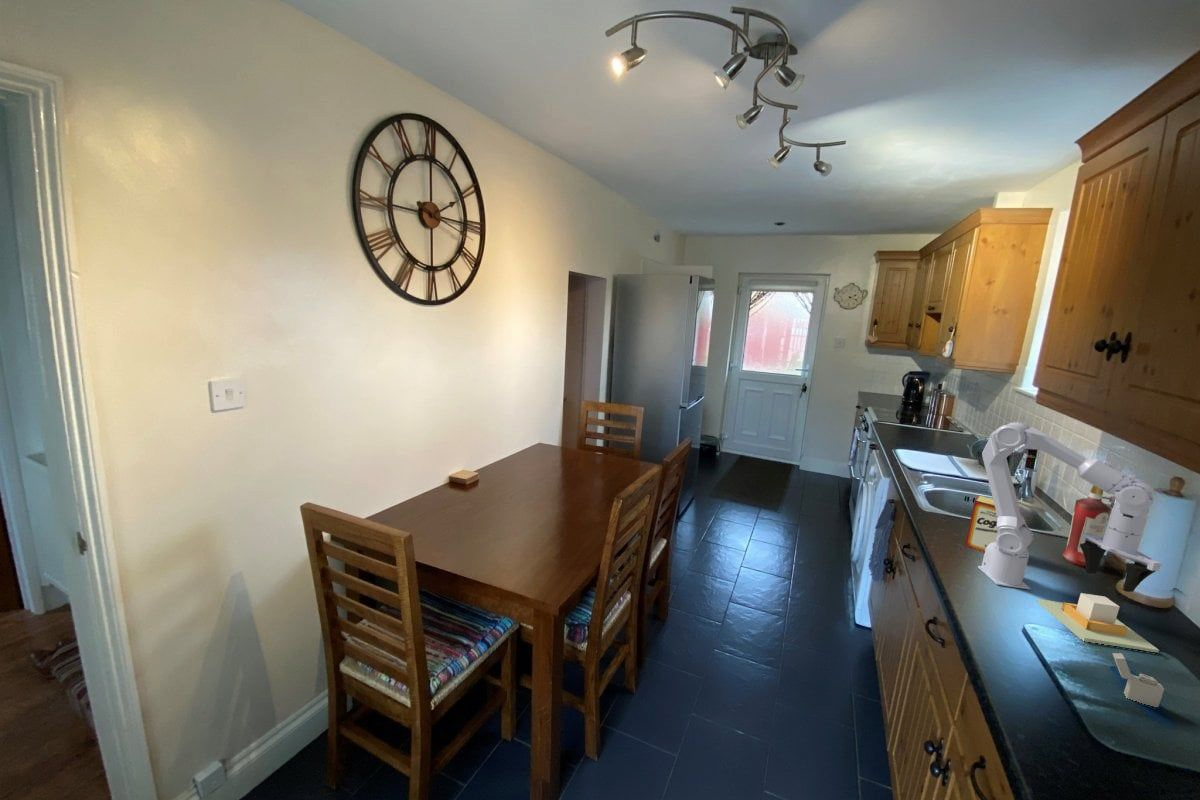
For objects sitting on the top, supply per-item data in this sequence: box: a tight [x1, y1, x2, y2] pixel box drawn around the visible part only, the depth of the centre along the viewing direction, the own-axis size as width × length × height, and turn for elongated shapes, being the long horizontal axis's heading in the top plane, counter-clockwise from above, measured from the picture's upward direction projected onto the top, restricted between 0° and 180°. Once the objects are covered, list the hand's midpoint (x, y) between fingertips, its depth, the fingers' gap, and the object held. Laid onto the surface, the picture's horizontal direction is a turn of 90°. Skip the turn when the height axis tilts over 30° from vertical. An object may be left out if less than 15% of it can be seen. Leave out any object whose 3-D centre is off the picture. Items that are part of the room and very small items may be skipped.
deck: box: [1037, 598, 1160, 653], centre depth 112 cm, size 15×14×3 cm
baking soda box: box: [964, 495, 998, 553], centre depth 147 cm, size 10×6×16 cm
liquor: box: [1062, 484, 1112, 568], centre depth 141 cm, size 7×7×28 cm
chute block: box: [1076, 592, 1120, 624], centre depth 111 cm, size 4×5×6 cm
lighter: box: [1111, 652, 1165, 708], centre depth 90 cm, size 7×2×8 cm, turn 56°
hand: (1109, 581), depth 115 cm, fingers open, 7 cm apart
